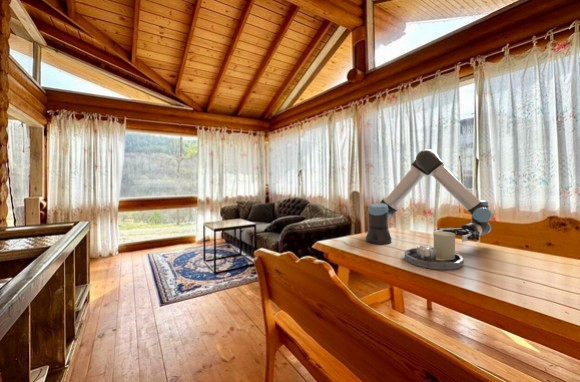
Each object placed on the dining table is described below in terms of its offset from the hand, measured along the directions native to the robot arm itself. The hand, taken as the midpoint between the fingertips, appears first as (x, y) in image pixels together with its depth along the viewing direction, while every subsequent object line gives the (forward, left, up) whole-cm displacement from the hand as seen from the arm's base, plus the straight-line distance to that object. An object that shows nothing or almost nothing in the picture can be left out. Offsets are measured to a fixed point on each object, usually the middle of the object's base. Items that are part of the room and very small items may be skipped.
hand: (448, 236), depth 129 cm
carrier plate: (+5, -12, -10) cm, 17 cm away
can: (+5, -6, -9) cm, 12 cm away
